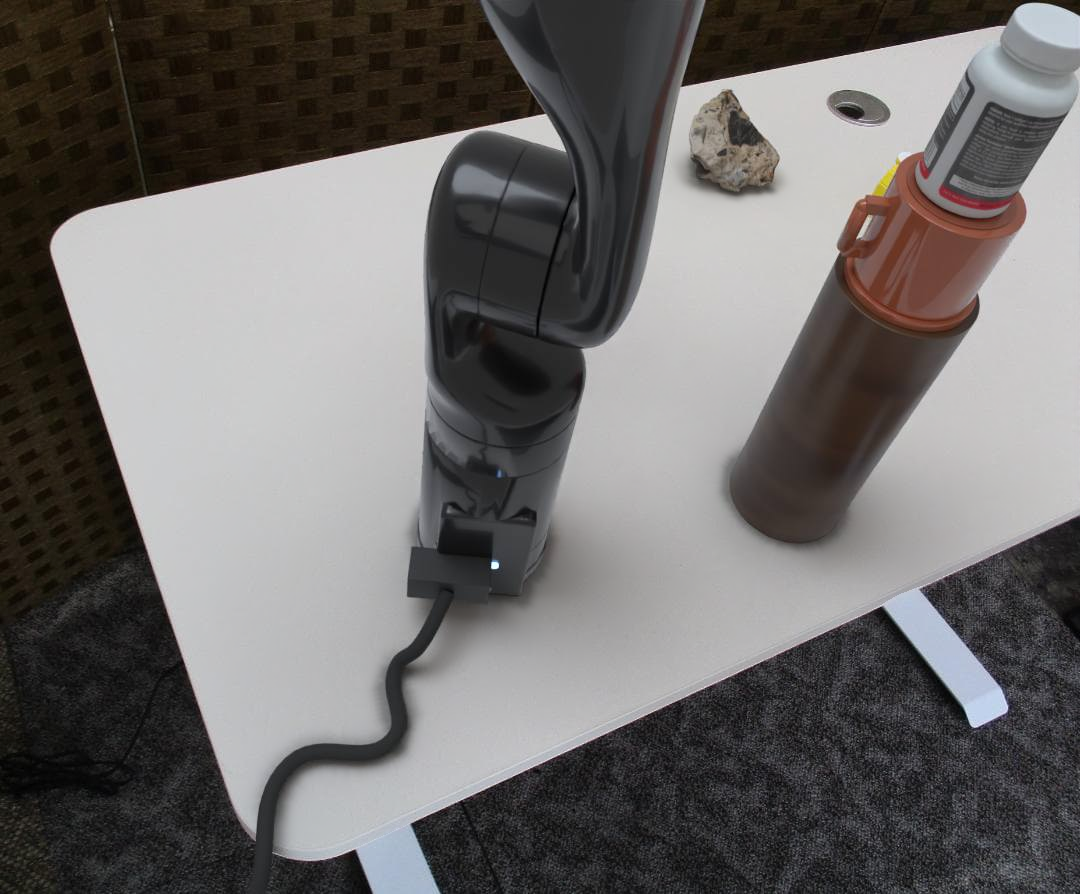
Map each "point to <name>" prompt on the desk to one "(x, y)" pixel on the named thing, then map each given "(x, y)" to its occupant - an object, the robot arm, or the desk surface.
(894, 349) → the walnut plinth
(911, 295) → the upturned cup
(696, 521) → the desk surface
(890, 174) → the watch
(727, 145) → the rock
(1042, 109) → the pill bottle
